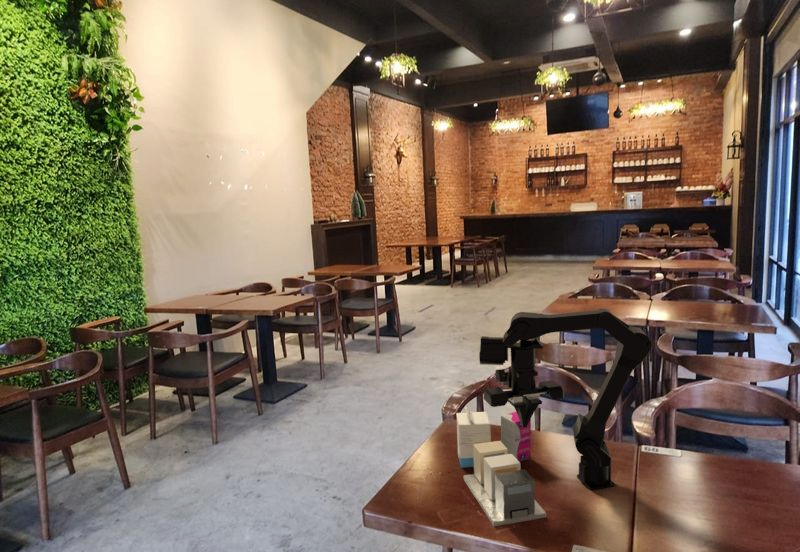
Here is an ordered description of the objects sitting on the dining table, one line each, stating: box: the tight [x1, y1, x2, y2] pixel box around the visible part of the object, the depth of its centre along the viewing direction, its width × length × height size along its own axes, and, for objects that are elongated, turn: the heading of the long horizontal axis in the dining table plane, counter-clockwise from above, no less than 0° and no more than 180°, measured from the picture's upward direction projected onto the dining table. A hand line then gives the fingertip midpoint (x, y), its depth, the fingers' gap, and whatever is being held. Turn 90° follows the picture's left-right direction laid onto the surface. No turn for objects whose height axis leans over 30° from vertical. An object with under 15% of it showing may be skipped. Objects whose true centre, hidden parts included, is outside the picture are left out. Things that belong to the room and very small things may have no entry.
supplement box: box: [500, 411, 532, 463], centre depth 139 cm, size 6×6×12 cm
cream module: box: [484, 454, 522, 500], centre depth 120 cm, size 7×5×8 cm
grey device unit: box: [463, 469, 547, 527], centre depth 120 cm, size 12×20×9 cm, turn 11°
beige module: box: [473, 440, 508, 484], centre depth 127 cm, size 7×5×8 cm
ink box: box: [455, 406, 492, 469], centre depth 139 cm, size 9×8×13 cm
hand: (524, 426), depth 128 cm, fingers closed
